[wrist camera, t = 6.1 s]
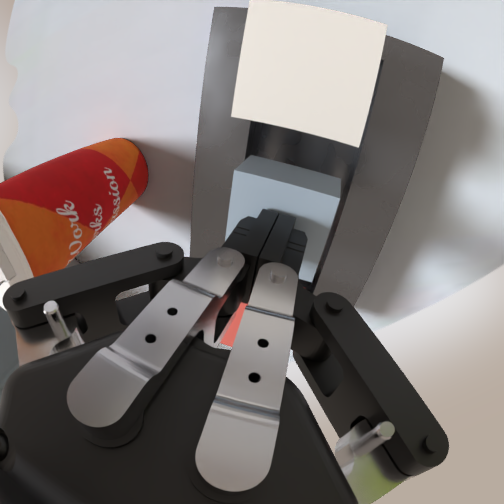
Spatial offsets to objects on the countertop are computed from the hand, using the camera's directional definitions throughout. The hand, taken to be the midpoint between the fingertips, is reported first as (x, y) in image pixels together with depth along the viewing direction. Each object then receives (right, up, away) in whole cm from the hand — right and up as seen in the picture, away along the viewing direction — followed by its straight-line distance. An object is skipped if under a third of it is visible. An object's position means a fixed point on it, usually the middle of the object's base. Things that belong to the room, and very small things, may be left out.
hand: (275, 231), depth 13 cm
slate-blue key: (+1, +3, +4) cm, 5 cm away
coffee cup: (-12, +6, +11) cm, 17 cm away
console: (+2, +4, +7) cm, 8 cm away
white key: (+2, +8, -1) cm, 8 cm away
